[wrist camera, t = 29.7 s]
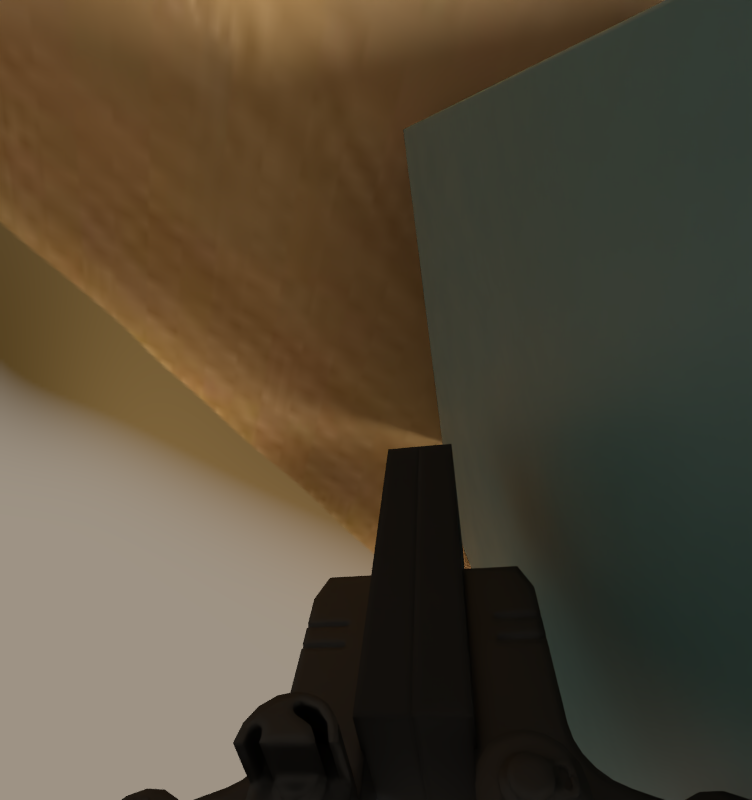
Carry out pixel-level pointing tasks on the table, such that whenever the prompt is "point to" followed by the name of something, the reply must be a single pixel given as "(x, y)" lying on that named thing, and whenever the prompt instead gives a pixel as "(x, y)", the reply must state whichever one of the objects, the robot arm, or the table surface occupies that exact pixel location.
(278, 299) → the table surface
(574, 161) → the chest lid
